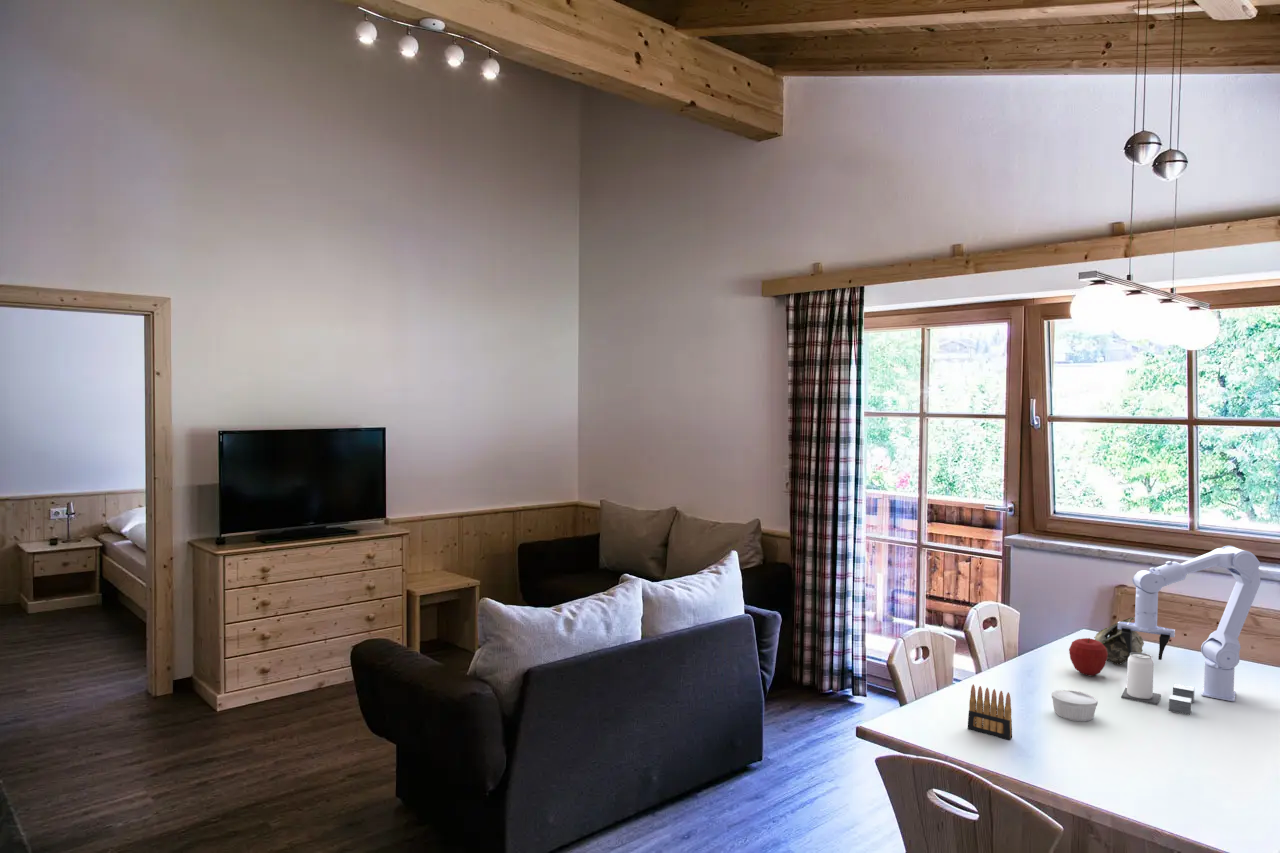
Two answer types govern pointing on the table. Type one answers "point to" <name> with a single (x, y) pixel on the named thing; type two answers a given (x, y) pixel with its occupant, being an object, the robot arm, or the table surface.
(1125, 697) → the mat
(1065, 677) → the table surface
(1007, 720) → the ammunition clip
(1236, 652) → the robot arm
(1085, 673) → the apple
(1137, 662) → the can
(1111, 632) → the hollow geode rock
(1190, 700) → the block
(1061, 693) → the ramekin
